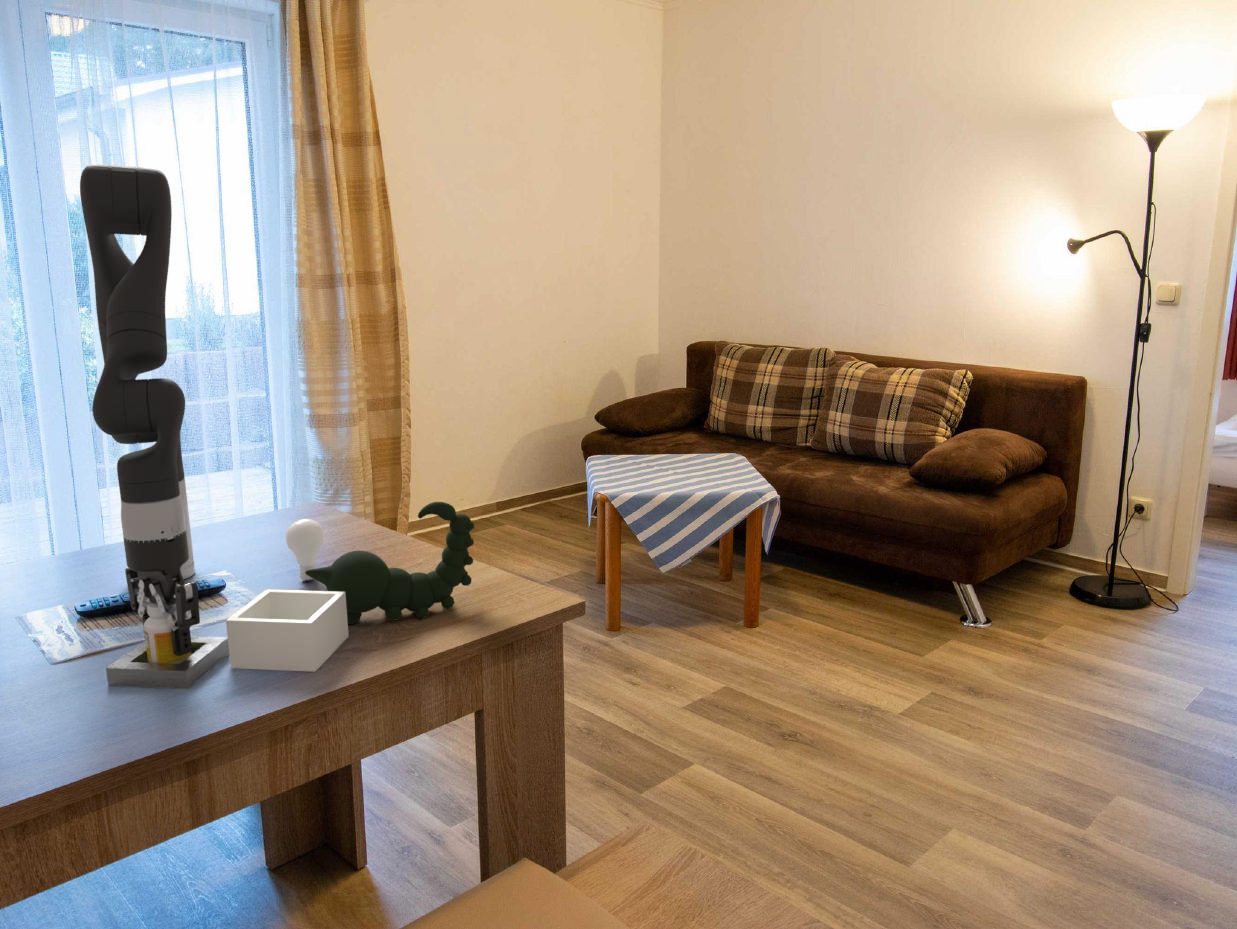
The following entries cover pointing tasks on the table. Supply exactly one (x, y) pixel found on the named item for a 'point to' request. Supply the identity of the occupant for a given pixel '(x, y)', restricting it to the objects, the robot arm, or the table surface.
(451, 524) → the toy figurine
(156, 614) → the supplement bottle
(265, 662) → the bin
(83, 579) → the table surface
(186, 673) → the socket collar
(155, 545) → the robot arm
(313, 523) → the lightbulb
